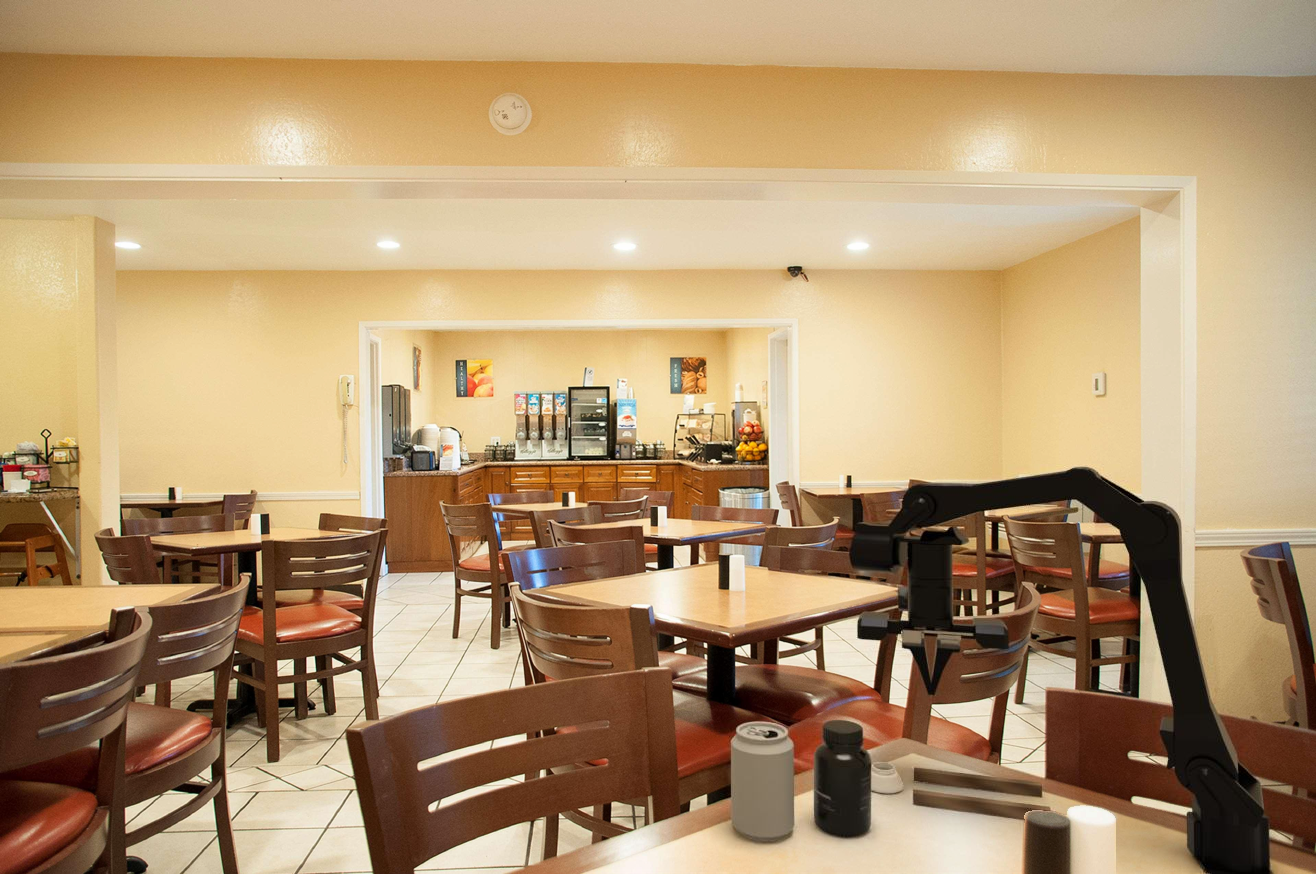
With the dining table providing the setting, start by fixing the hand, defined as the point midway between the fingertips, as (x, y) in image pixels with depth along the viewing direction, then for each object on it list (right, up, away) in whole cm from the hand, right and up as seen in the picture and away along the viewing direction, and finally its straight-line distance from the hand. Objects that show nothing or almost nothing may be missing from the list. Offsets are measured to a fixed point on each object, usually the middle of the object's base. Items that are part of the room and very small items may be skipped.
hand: (931, 694), depth 104 cm
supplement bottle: (-14, -13, -10) cm, 21 cm away
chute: (+5, -13, -2) cm, 14 cm away
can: (-24, -13, -11) cm, 29 cm away
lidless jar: (-6, -13, +1) cm, 15 cm away
